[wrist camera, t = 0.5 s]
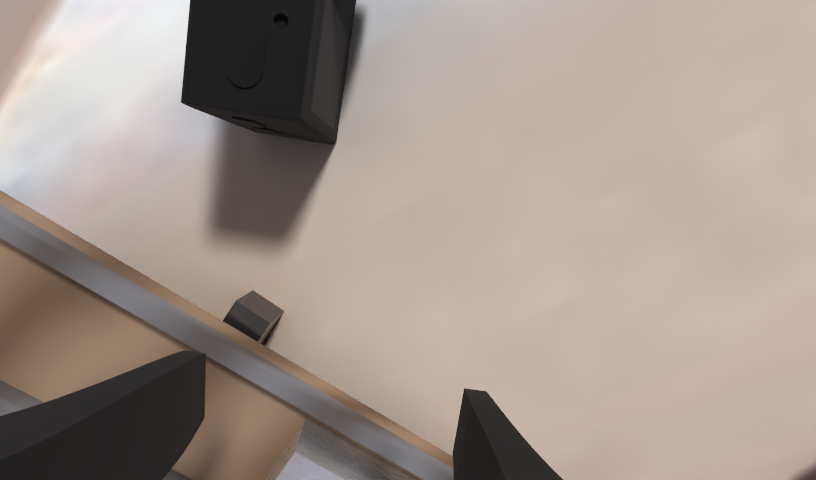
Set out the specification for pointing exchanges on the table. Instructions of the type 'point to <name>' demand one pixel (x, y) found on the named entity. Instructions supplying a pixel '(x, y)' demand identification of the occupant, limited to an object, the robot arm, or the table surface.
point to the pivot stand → (253, 316)
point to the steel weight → (328, 458)
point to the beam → (159, 337)
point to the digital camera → (270, 64)
